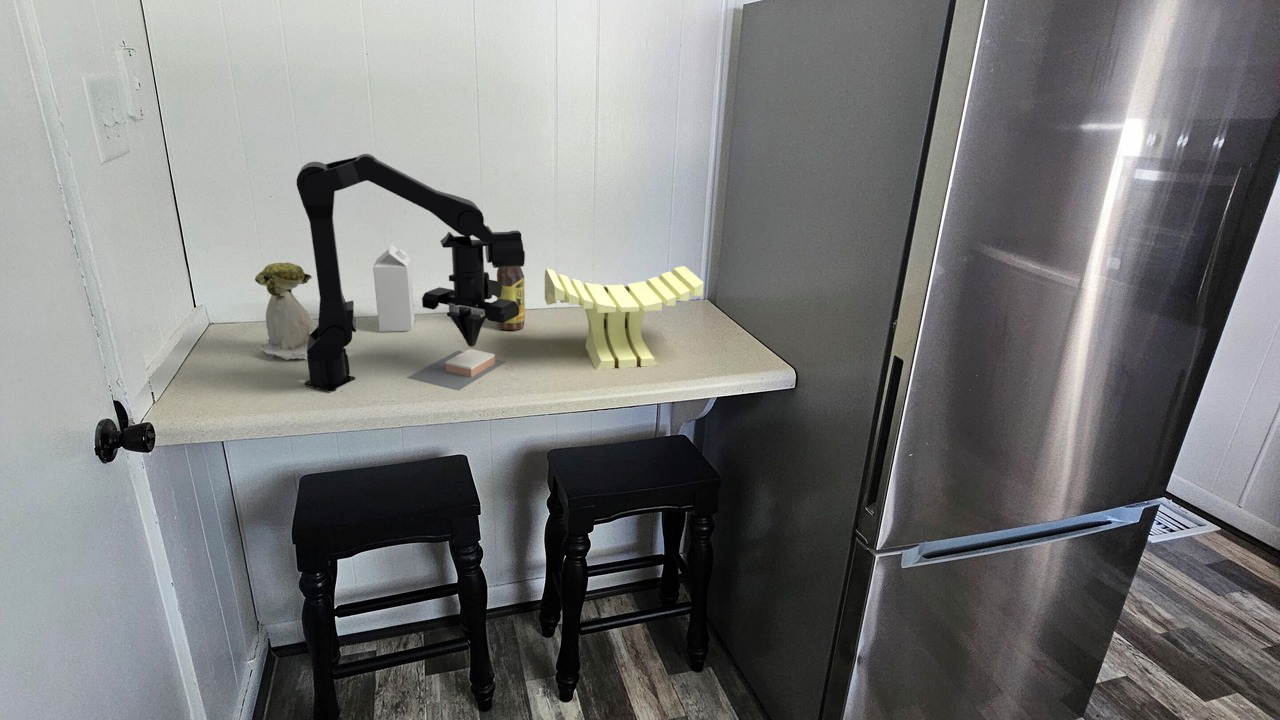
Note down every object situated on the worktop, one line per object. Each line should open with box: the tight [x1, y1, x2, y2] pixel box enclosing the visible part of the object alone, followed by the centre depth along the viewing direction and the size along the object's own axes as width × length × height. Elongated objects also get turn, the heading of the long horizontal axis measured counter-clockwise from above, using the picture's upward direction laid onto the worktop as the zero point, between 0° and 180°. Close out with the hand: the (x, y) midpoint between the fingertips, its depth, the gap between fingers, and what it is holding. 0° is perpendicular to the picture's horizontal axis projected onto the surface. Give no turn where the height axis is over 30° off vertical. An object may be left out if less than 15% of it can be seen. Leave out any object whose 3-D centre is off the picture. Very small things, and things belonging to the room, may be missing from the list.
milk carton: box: [372, 240, 416, 333], centre depth 159 cm, size 7×7×19 cm
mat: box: [406, 350, 507, 391], centre depth 141 cm, size 16×12×1 cm
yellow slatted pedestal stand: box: [544, 265, 705, 370], centre depth 150 cm, size 30×16×18 cm, turn 104°
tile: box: [445, 348, 496, 377], centre depth 141 cm, size 8×2×6 cm
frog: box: [254, 262, 316, 360], centre depth 143 cm, size 12×13×18 cm
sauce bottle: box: [496, 267, 526, 331], centre depth 162 cm, size 6×6×20 cm
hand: (472, 346), depth 140 cm, fingers closed
